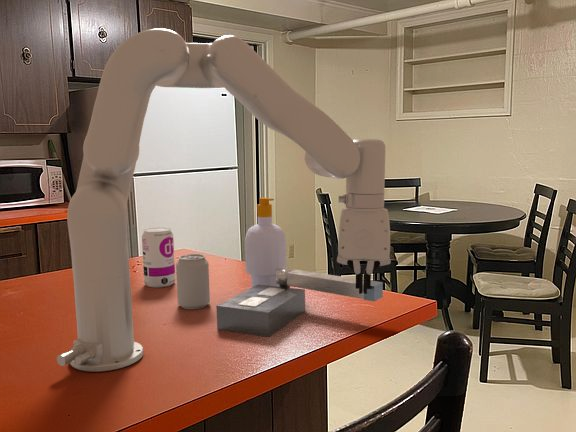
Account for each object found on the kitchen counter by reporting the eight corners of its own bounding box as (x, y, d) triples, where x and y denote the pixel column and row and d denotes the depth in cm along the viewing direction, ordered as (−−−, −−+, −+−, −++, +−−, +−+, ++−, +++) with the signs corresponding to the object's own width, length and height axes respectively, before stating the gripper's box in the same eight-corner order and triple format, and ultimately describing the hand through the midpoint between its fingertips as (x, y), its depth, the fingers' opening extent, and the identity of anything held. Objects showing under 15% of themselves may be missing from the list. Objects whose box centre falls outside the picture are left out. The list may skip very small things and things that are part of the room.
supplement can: (181, 282, 154) (179, 228, 152) (159, 289, 147) (157, 233, 145) (160, 279, 158) (157, 226, 156) (138, 285, 152) (134, 230, 150)
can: (203, 311, 128) (201, 259, 127) (172, 309, 130) (170, 258, 128) (214, 301, 136) (212, 252, 134) (185, 300, 137) (182, 252, 135)
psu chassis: (269, 336, 111) (268, 311, 110) (217, 329, 116) (216, 304, 115) (312, 306, 131) (311, 283, 130) (266, 300, 136) (265, 279, 135)
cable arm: (382, 296, 118) (383, 282, 118) (373, 301, 115) (374, 286, 114) (282, 280, 134) (282, 266, 133) (272, 283, 130) (272, 270, 130)
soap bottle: (263, 301, 135) (261, 201, 132) (238, 292, 143) (235, 198, 140) (295, 292, 142) (293, 197, 139) (269, 285, 150) (267, 195, 146)
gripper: (326, 203, 109) (324, 295, 111) (404, 204, 107) (401, 298, 109) (328, 199, 116) (326, 286, 118) (401, 200, 114) (399, 288, 117)
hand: (362, 292), depth 114 cm, fingers closed
